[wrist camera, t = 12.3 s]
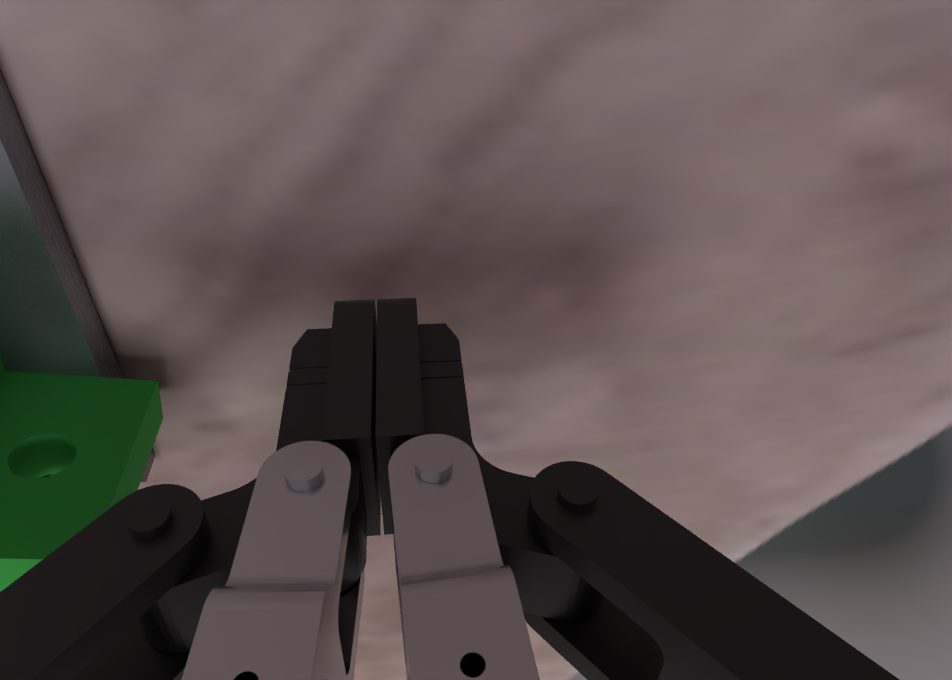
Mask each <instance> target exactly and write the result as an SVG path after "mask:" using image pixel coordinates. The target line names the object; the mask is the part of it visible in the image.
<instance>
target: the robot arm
mask: <svg viewBox="0 0 952 680" xmlns="http://www.w3.org/2000/svg"><path fill="white" fill-rule="evenodd" d="M381 503H382V514H383V524H384V534H393V536H394V549H395V562H396V574H397V585H398V595H399V605H400V614H401V624H402V634H403V644H404V654H405V664H406V674H407V680H540V678H539V674H538V670H537V666H536V662H535V658H534V654H533V650H532V646H531V642H530V638H529V634H528V630H527V626H526V622H527V623H528V624H529V625H530V626H531V628H532V629H534V630H535V631H536V632H537V633H538V634H539V635H540V636H541V637H542V638H543V639H544V640H545V641H546V642H548V643H549V644H550V645H551V646H552V647H553V648H554V649H555V650H556V651H557V652H558V653H559V654H560V655H562V656H563V657H564V658H565V659H566V660H567V661H568V662H569V663H570V664H571V665H572V666H573V667H574V668H576V669H577V670H578V671H579V672H580V673H581V674H582V675H583V676H584V677H585V678H586V679H587V680H899V679H898V678H896V677H895V676H893V675H892V674H891V673H889V672H888V671H886V670H885V669H883V668H882V667H881V666H879V665H878V664H877V663H875V662H873V661H872V660H871V659H869V658H868V657H867V656H865V655H864V654H862V653H861V652H860V651H858V650H856V649H855V648H854V647H852V646H851V645H850V644H848V643H847V642H845V641H844V640H842V639H841V638H840V637H838V636H837V635H836V634H834V633H833V632H831V631H830V630H828V629H827V628H826V627H824V626H823V625H821V624H820V623H819V622H817V621H816V620H814V619H813V618H812V617H810V616H809V615H807V614H806V613H804V612H803V611H802V610H800V609H799V608H797V607H796V606H795V605H793V604H792V603H790V602H789V601H788V600H786V599H784V598H783V597H782V596H780V595H779V594H778V593H776V592H775V591H773V590H772V589H771V588H769V587H768V586H766V585H765V584H763V583H762V582H761V581H759V580H758V579H756V578H755V577H754V576H752V575H751V574H749V573H748V572H747V571H745V570H744V569H742V568H741V567H739V566H738V565H737V564H735V563H734V562H732V561H731V560H730V559H728V558H727V557H725V556H724V555H723V554H721V553H720V552H718V551H717V550H716V549H714V548H713V547H711V546H710V545H708V544H707V543H706V542H704V541H703V540H701V539H700V538H699V537H697V536H696V535H694V534H693V533H692V532H690V531H689V530H687V529H686V528H684V527H683V526H682V525H680V524H679V523H677V522H676V521H675V520H673V519H672V518H670V517H669V516H668V515H666V514H665V513H663V512H662V511H660V510H659V509H658V508H656V507H655V506H653V505H652V504H651V503H649V502H648V501H646V500H645V499H644V498H642V497H641V496H639V495H638V494H636V493H635V492H634V491H632V490H631V489H629V488H628V487H627V486H625V485H624V484H622V483H621V482H619V481H618V480H617V479H615V478H614V477H612V476H611V475H610V474H608V473H607V472H605V471H604V470H602V469H600V468H598V467H596V466H594V465H591V464H587V463H583V462H577V461H566V462H560V463H556V464H553V465H550V466H548V467H546V468H545V469H543V470H542V471H541V472H540V473H538V474H537V476H536V477H535V478H533V477H528V476H523V475H519V474H514V473H510V472H506V471H504V470H501V469H499V468H497V467H495V466H493V465H491V464H490V463H488V462H487V461H486V460H484V459H483V458H482V457H481V455H480V454H479V453H478V452H477V450H476V449H475V447H474V444H473V442H472V437H471V430H470V422H469V415H468V407H467V399H466V391H465V384H464V377H463V368H462V363H461V353H460V345H459V340H458V339H457V337H456V336H455V335H454V333H453V332H452V331H451V330H450V328H449V327H448V326H447V325H446V323H443V324H420V325H418V321H417V304H416V298H401V299H378V301H377V320H376V307H375V300H354V301H335V304H334V313H333V324H332V328H329V329H307V330H306V332H305V333H304V334H303V335H302V337H301V338H300V339H299V340H298V342H297V343H296V344H295V346H294V347H293V349H292V355H291V362H290V372H289V374H288V380H287V389H286V393H285V399H284V405H283V411H282V418H281V424H280V430H279V436H278V443H277V449H276V452H274V453H273V454H272V455H271V456H270V457H268V459H267V460H266V461H265V462H264V463H263V465H262V466H261V468H260V470H259V473H258V476H257V478H256V479H254V480H253V481H251V482H249V483H248V484H246V485H244V486H242V487H240V488H238V489H235V490H232V491H230V492H226V493H223V494H220V495H217V496H214V497H211V498H208V499H205V500H200V499H199V497H198V496H197V495H196V494H195V493H194V492H193V491H192V490H190V489H188V488H186V487H183V486H179V485H173V484H160V485H154V486H150V487H146V488H143V489H140V490H138V491H135V492H133V493H131V494H129V495H128V496H126V497H125V498H123V499H122V500H120V501H119V502H117V503H116V504H115V505H114V506H112V507H111V508H110V509H108V510H107V511H106V512H104V513H103V514H102V515H100V516H99V517H98V518H96V519H95V520H94V521H93V522H91V523H90V524H89V525H87V526H86V527H85V528H83V529H82V530H81V531H79V532H78V533H77V534H76V535H74V536H73V537H72V538H70V539H69V540H68V541H66V542H65V543H64V544H62V545H61V546H60V547H59V548H57V549H56V550H55V551H53V552H52V553H51V554H49V555H48V556H47V557H45V558H44V559H43V560H42V561H40V562H39V563H38V564H36V565H35V566H34V567H32V568H31V569H30V570H28V571H27V572H26V573H24V574H23V575H22V576H21V577H19V578H18V579H17V580H15V581H14V582H13V583H11V584H10V585H9V586H7V587H6V588H5V589H4V590H2V591H1V592H0V680H353V679H354V670H355V661H356V652H357V643H358V634H359V625H360V616H361V607H362V598H363V589H364V567H365V564H366V545H367V536H373V535H380V519H381ZM525 620H526V622H525Z"/></svg>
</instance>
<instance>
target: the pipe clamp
mask: <svg viewBox="0 0 952 680" xmlns="http://www.w3.org/2000/svg"><path fill="white" fill-rule="evenodd" d="M162 419H163V416H162V408H161V400H160V393H159V385H158V381H153V380H137V379H122V378H106V377H91V376H75V375H60V374H44V373H29V372H13V371H5V368H4V365H3V362H2V358H1V355H0V592H1V591H2V590H4V589H5V588H6V587H7V586H9V585H10V584H11V583H13V582H14V581H15V580H17V579H18V578H19V577H21V576H22V575H23V574H24V573H26V572H27V571H28V570H30V569H31V568H32V567H34V566H35V565H36V564H38V563H39V562H40V561H42V560H43V559H44V558H45V557H47V556H48V555H49V554H51V553H52V552H53V551H55V550H56V549H57V548H59V547H60V546H61V545H62V544H64V543H65V542H66V541H68V540H69V539H70V538H72V537H73V536H74V535H76V534H77V533H78V532H79V531H81V530H82V529H83V528H85V527H86V526H87V525H89V524H90V523H91V522H93V521H94V520H95V519H96V518H98V517H99V516H100V515H102V514H103V513H104V512H106V511H107V510H108V509H110V508H111V507H112V506H114V505H115V504H116V503H117V502H119V501H120V500H122V499H123V498H125V497H126V496H128V495H129V494H131V493H133V492H135V491H137V490H138V487H139V484H140V481H141V479H142V476H143V473H144V470H145V467H146V464H147V462H148V459H149V456H150V453H151V450H152V447H153V445H154V442H155V439H156V436H157V433H158V430H159V428H160V425H161V422H162ZM52 473H56V474H53V475H51V476H47V477H43V476H45V475H48V474H52ZM40 477H43V478H40Z"/></svg>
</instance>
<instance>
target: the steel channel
mask: <svg viewBox="0 0 952 680" xmlns="http://www.w3.org/2000/svg"><path fill="white" fill-rule="evenodd" d="M0 355H1V358H2V362H3V365H4V368H5V371H13V372H29V373H44V374H60V375H75V376H91V377H106V378H122V379H124V378H123V376H122V373H121V371H120V368H119V366H118V363H117V361H116V358H115V356H114V354H113V351H112V349H111V346H110V344H109V341H108V339H107V336H106V334H105V331H104V329H103V326H102V324H101V321H100V319H99V316H98V314H97V311H96V309H95V306H94V304H93V301H92V299H91V296H90V294H89V291H88V289H87V286H86V284H85V281H84V279H83V276H82V274H81V271H80V269H79V266H78V264H77V261H76V259H75V256H74V254H73V251H72V249H71V246H70V244H69V241H68V239H67V236H66V234H65V231H64V229H63V226H62V224H61V221H60V219H59V217H58V214H57V212H56V209H55V207H54V204H53V202H52V199H51V197H50V194H49V192H48V189H47V187H46V184H45V182H44V179H43V177H42V174H41V172H40V169H39V167H38V164H37V162H36V159H35V157H34V154H33V152H32V149H31V147H30V144H29V142H28V139H27V137H26V134H25V132H24V129H23V127H22V124H21V122H20V119H19V117H18V114H17V112H16V109H15V107H14V104H13V102H12V99H11V97H10V94H9V92H8V89H7V87H6V85H5V82H4V80H3V77H2V75H1V72H0ZM154 458H155V456H154V453H153V451H152V450H151V453H150V456H149V459H148V462H147V464H146V467H145V470H144V473H143V476H142V479H141V481H140V482H146V481H147V478H148V475H149V472H150V469H151V466H152V463H153V461H154ZM53 474H56V473H52V474H48V475H45V476H43V477H47V476H51V475H53ZM43 477H40V478H43Z"/></svg>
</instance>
